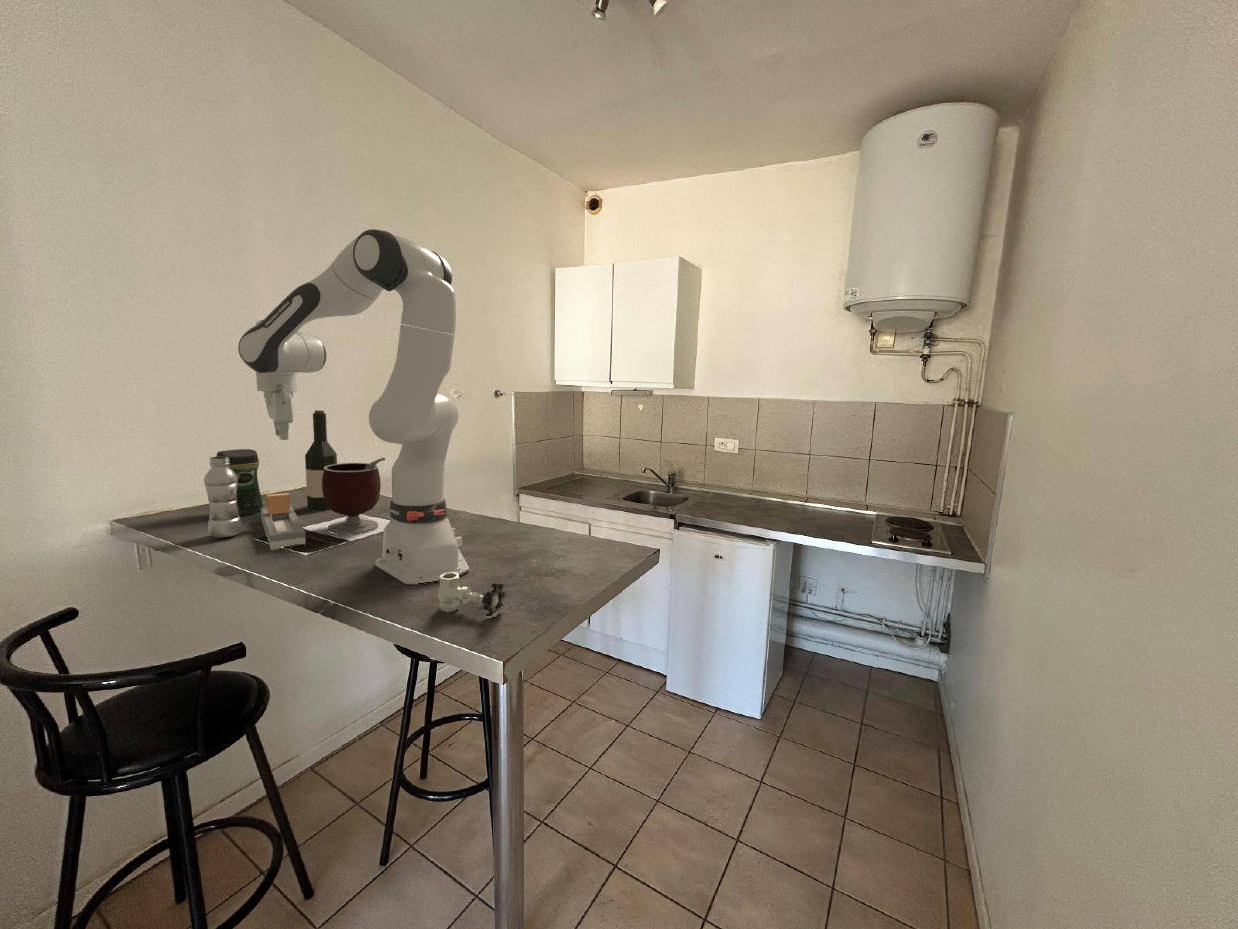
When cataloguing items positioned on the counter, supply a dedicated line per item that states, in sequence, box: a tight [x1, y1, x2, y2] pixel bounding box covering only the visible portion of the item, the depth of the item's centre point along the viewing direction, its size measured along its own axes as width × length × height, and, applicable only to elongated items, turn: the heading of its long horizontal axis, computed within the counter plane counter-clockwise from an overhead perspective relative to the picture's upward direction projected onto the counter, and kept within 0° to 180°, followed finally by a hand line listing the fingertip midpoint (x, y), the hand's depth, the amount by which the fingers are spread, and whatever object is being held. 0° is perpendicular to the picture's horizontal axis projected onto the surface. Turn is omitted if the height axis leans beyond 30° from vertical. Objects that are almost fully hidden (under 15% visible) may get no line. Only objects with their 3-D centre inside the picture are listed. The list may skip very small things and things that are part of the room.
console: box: [260, 504, 307, 551], centre depth 128 cm, size 28×7×4 cm, turn 39°
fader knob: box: [266, 492, 291, 521], centre depth 132 cm, size 3×5×7 cm, turn 129°
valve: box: [437, 572, 507, 617], centre depth 91 cm, size 7×7×12 cm
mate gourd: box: [322, 457, 386, 535], centre depth 133 cm, size 16×14×20 cm
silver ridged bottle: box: [203, 456, 243, 539], centre depth 121 cm, size 6×7×20 cm
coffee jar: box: [216, 448, 264, 517], centre depth 140 cm, size 10×8×19 cm
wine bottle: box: [304, 409, 338, 512], centre depth 149 cm, size 8×8×30 cm
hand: (281, 437), depth 129 cm, fingers open, 8 cm apart
